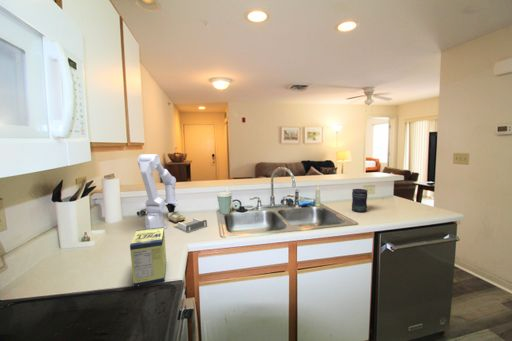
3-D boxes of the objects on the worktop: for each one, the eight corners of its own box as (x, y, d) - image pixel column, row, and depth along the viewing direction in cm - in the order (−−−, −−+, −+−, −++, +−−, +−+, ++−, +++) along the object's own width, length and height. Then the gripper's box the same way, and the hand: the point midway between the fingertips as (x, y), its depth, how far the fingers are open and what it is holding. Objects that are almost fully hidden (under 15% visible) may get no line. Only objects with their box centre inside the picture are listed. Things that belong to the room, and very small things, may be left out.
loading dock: (187, 234, 130) (187, 226, 130) (172, 227, 142) (171, 219, 141) (206, 227, 140) (206, 220, 139) (190, 221, 151) (190, 214, 151)
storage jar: (369, 212, 161) (370, 191, 159) (354, 213, 161) (355, 191, 159) (362, 208, 171) (363, 188, 169) (349, 208, 171) (350, 188, 169)
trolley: (175, 224, 145) (174, 216, 145) (168, 220, 151) (167, 213, 151) (185, 221, 150) (184, 213, 150) (178, 218, 156) (177, 210, 156)
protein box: (166, 261, 100) (164, 226, 98) (165, 281, 85) (162, 241, 83) (139, 265, 97) (136, 229, 95) (133, 288, 82) (129, 245, 80)
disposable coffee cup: (217, 215, 160) (216, 194, 158) (217, 211, 170) (216, 191, 168) (233, 214, 162) (232, 193, 160) (231, 210, 172) (231, 190, 170)
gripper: (181, 195, 151) (182, 215, 153) (170, 192, 161) (171, 211, 162) (171, 197, 146) (172, 218, 147) (160, 193, 155) (161, 213, 157)
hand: (171, 214), depth 154 cm, fingers closed
